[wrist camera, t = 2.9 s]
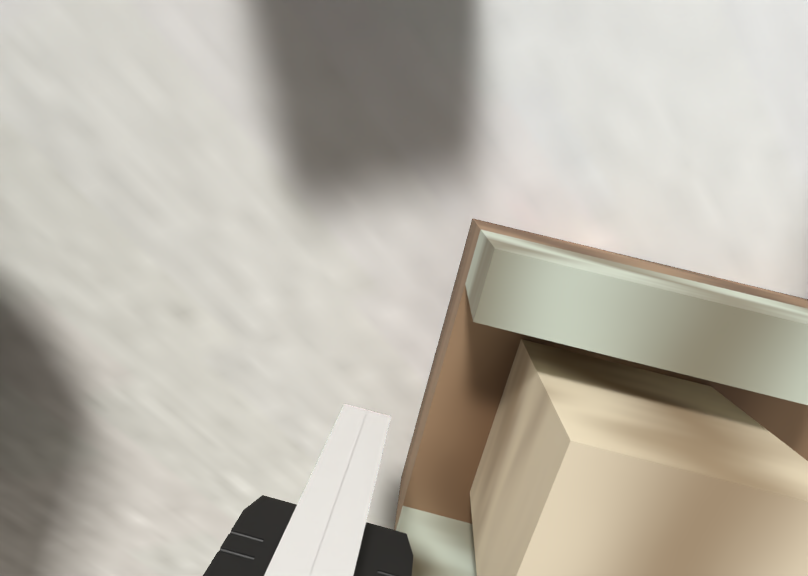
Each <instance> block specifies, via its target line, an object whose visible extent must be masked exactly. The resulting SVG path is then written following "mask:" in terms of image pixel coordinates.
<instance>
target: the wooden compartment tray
mask: <svg viewBox="0 0 808 576" xmlns="http://www.w3.org/2000/svg"><path fill="white" fill-rule="evenodd" d="M521 339H523V340H527V341H531V342H535V343H539V344H543V345H547V346H551V347H555V348H559V349H563V350H567V351H571V352H575V353H579V354H583V355H587V356H591V357H595V358H599V359H603V360H607V361H611V362H615V363H619V364H623V365H627V366H631V367H635V368H639V369H643V370H647V371H651V372H655V373H659V374H663V375H667V376H671V377H675V378H679V379H683V380H687V381H691V382H695V383H699V384H703V385H707V386H711V387H713V388H714V389H715V390H716V391H718V392H719V393H720V394H722V395H723V396H724V397H725V398H727V399H728V400H729V401H731V402H732V403H733V404H735V405H736V406H737V407H738V408H740V409H741V410H742V411H744V412H745V413H746V414H747V415H749V416H750V417H751V418H753V419H754V420H755V421H756V422H758V423H759V424H760V425H762V426H763V427H764V428H766V429H767V430H768V431H769V432H771V433H772V434H773V435H775V436H776V437H777V438H778V439H780V440H781V441H782V442H784V443H785V444H786V445H788V446H789V447H790V448H791V449H793V450H794V451H795V452H797V453H798V454H799V455H800V456H802V457H803V458H804V459H806V460H807V461H808V299H803V298H799V297H795V296H791V295H787V294H783V293H779V292H774V291H770V290H766V289H762V288H758V287H754V286H750V285H745V284H741V283H737V282H733V281H729V280H725V279H721V278H716V277H712V276H708V275H704V274H700V273H696V272H692V271H688V270H683V269H679V268H675V267H671V266H667V265H663V264H659V263H654V262H650V261H646V260H642V259H638V258H634V257H630V256H625V255H621V254H617V253H613V252H609V251H605V250H601V249H596V248H592V247H588V246H584V245H580V244H576V243H572V242H567V241H563V240H559V239H555V238H551V237H547V236H543V235H538V234H534V233H530V232H526V231H522V230H518V229H514V228H510V227H505V226H501V225H497V224H493V223H489V222H485V221H481V220H476V219H472V222H471V226H470V230H469V233H468V237H467V240H466V244H465V248H464V251H463V255H462V259H461V262H460V266H459V270H458V273H457V277H456V281H455V284H454V288H453V291H452V295H451V299H450V302H449V306H448V310H447V313H446V317H445V321H444V324H443V328H442V332H441V335H440V339H439V342H438V346H437V350H436V353H435V357H434V361H433V364H432V368H431V372H430V375H429V379H428V383H427V386H426V390H425V393H424V397H423V401H422V404H421V408H420V412H419V415H418V419H417V423H416V426H415V430H414V434H413V437H412V441H411V444H410V448H409V452H408V455H407V459H406V463H405V466H404V470H403V474H402V477H401V484H400V491H399V499H398V506H397V513H396V520H395V527H394V530H395V531H399V532H403V533H406V534H407V536H408V540H409V543H410V546H411V549H412V553H413V566H412V576H477V572H476V560H475V548H474V537H473V525H472V513H471V502H470V490H471V487H472V484H473V481H474V478H475V475H476V472H477V469H478V466H479V463H480V460H481V457H482V454H483V451H484V448H485V445H486V442H487V439H488V436H489V433H490V430H491V427H492V424H493V421H494V418H495V415H496V412H497V410H498V407H499V404H500V401H501V398H502V395H503V392H504V389H505V386H506V383H507V380H508V377H509V374H510V371H511V368H512V365H513V362H514V359H515V356H516V353H517V350H518V347H519V344H520V341H521Z"/></svg>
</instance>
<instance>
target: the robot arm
mask: <svg viewBox="0 0 808 576" xmlns="http://www.w3.org/2000/svg"><path fill="white" fill-rule="evenodd" d="M390 420H391V416H389V415H386V414H382V413H378V412H374V411H370V410H367V409H363V408H359V407H355V406H352V405H348V404H344V405H343V407H342V409H341V412H340V414H339V416H338V418H337V420H336V422H335V424H334V427H333V429H332V431H331V433H330V435H329V437H328V439H327V442H326V444H325V446H324V448H323V450H322V452H321V455H320V457H319V459H318V461H317V463H316V465H315V467H314V470H313V472H312V474H311V476H310V478H309V480H308V482H307V485H306V487H305V489H304V491H303V493H302V495H301V497H300V500H299V502H298V504H297V505H296V504H292V503H289V502H285V501H281V500H278V499H274V498H271V497H267V496H263V495H262V496H261V497H260V498H259V499H257V500H256V501H255V502H253V503H252V504H251V505H250V506H248V507H247V508H246V509H244V510H243V512H242V514H241V515H240V517H239V519H238V520H237V522H236V523H235V525H234V527H233V528H232V530H231V533H230V534H229V535H228V536H227V538H226V539H225V541H224V543H223V544H222V546H221V548H220V551H219V552H217V554H216V556H215V557H214V559H213V560H212V562H211V564H210V565H209V567H208V568H207V570H206V572H205V573H204V575H203V576H412V566H413V553H412V549H411V546H410V543H409V540H408V536H407V534H406V533H403V532H399V531H395V530H392V529H388V528H385V527H381V526H377V525H374V524H370V523H366V520H367V516H368V512H369V508H370V504H371V500H372V495H373V491H374V487H375V483H376V479H377V474H378V470H379V466H380V462H381V458H382V454H383V449H384V445H385V441H386V437H387V433H388V429H389V424H390Z"/></svg>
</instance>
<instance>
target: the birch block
mask: <svg viewBox="0 0 808 576" xmlns="http://www.w3.org/2000/svg"><path fill="white" fill-rule="evenodd" d="M470 502H471V513H472V525H473V537H474V548H475V560H476V572H477V576H808V461H807V460H806V459H804V458H803V457H802V456H800V455H799V454H798V453H797V452H795V451H794V450H793V449H791V448H790V447H789V446H788V445H786V444H785V443H784V442H782V441H781V440H780V439H778V438H777V437H776V436H775V435H773V434H772V433H771V432H769V431H768V430H767V429H766V428H764V427H763V426H762V425H760V424H759V423H758V422H756V421H755V420H754V419H753V418H751V417H750V416H749V415H747V414H746V413H745V412H744V411H742V410H741V409H740V408H738V407H737V406H736V405H735V404H733V403H732V402H731V401H729V400H728V399H727V398H725V397H724V396H723V395H722V394H720V393H719V392H718V391H716V390H715V389H714V388H713V387H711V386H707V385H703V384H699V383H695V382H691V381H687V380H683V379H679V378H675V377H671V376H667V375H663V374H659V373H655V372H651V371H647V370H643V369H639V368H635V367H631V366H627V365H623V364H619V363H615V362H611V361H607V360H603V359H599V358H595V357H591V356H587V355H583V354H579V353H575V352H571V351H567V350H563V349H559V348H555V347H551V346H547V345H543V344H539V343H535V342H531V341H527V340H523V339H521V341H520V344H519V347H518V350H517V353H516V356H515V359H514V362H513V365H512V368H511V371H510V374H509V377H508V380H507V383H506V386H505V389H504V392H503V395H502V398H501V401H500V404H499V407H498V410H497V412H496V415H495V418H494V421H493V424H492V427H491V430H490V433H489V436H488V439H487V442H486V445H485V448H484V451H483V454H482V457H481V460H480V463H479V466H478V469H477V472H476V475H475V478H474V481H473V484H472V487H471V490H470Z"/></svg>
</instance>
